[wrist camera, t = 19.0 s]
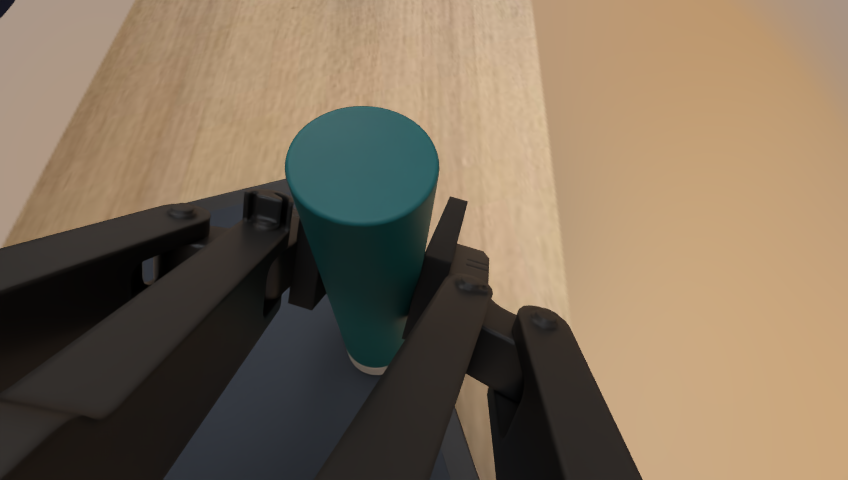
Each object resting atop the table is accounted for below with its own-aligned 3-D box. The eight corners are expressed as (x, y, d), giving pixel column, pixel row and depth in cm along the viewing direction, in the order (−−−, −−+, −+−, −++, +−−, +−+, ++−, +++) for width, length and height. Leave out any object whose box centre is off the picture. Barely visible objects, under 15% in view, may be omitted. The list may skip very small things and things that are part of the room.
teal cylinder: (340, 325, 19) (271, 119, 8) (397, 307, 20) (411, 93, 8) (356, 384, 18) (301, 243, 6) (416, 363, 18) (462, 201, 7)
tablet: (127, 226, 22) (115, 218, 21) (372, 165, 25) (371, 156, 24) (151, 692, 15) (134, 710, 14) (497, 541, 17) (502, 548, 16)
